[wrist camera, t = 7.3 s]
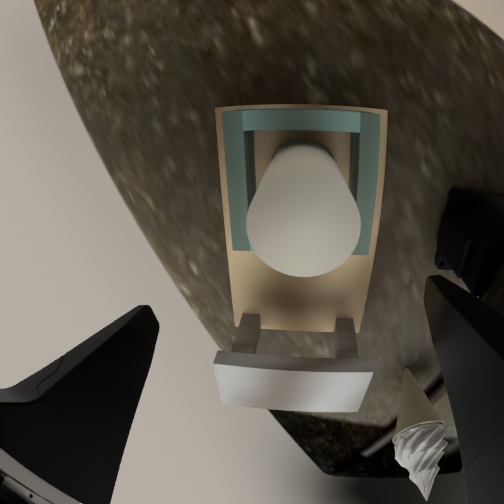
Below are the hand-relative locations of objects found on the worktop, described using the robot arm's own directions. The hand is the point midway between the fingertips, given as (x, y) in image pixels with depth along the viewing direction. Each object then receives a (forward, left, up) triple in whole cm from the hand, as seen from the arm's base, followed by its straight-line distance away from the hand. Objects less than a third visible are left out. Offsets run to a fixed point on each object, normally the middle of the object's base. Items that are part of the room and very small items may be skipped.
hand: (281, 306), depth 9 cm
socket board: (-1, +3, -12) cm, 13 cm away
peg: (-1, -1, -10) cm, 11 cm away
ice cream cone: (-13, +19, -13) cm, 26 cm away
